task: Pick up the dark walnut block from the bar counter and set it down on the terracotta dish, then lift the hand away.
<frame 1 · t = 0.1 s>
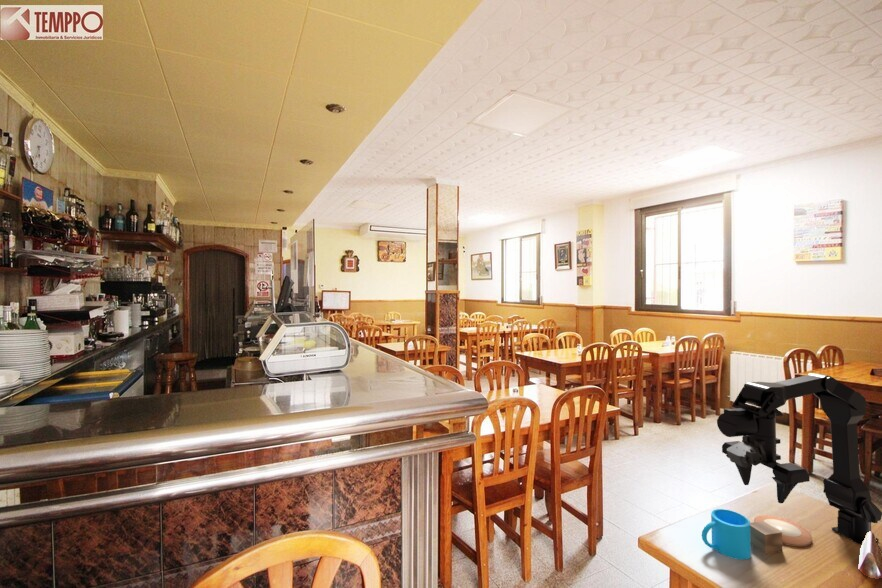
hand: (762, 493, 101), 14 cm above the table, tool pointing down, fingers open, 9 cm apart
terracotta dish: (781, 532, 108), on the table
walnut block: (764, 546, 102), on the table
mug: (724, 550, 102), on the table
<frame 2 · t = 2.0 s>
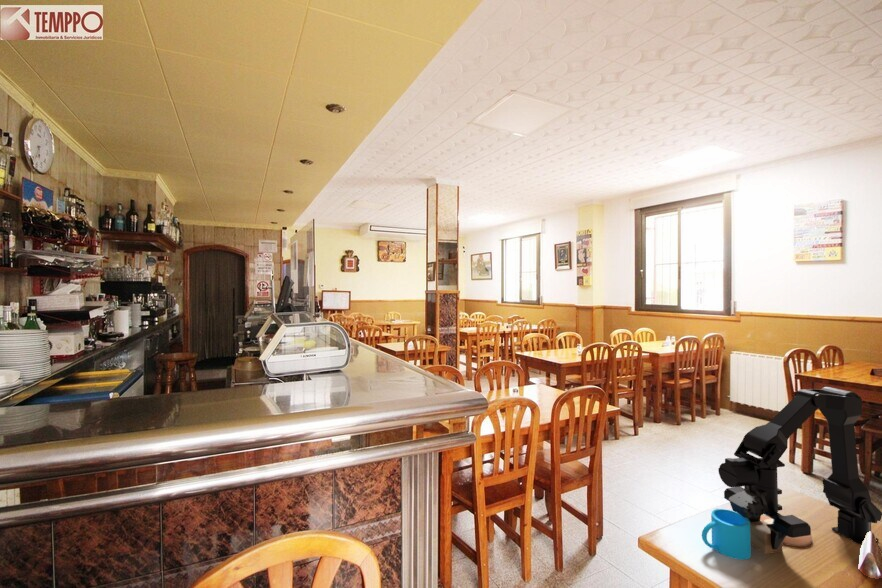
hand: (764, 542, 102), 1 cm above the table, tool pointing down, fingers closed on walnut block, 5 cm apart
walnut block: (764, 546, 102), on the table, touching gripper
everything else where it was.
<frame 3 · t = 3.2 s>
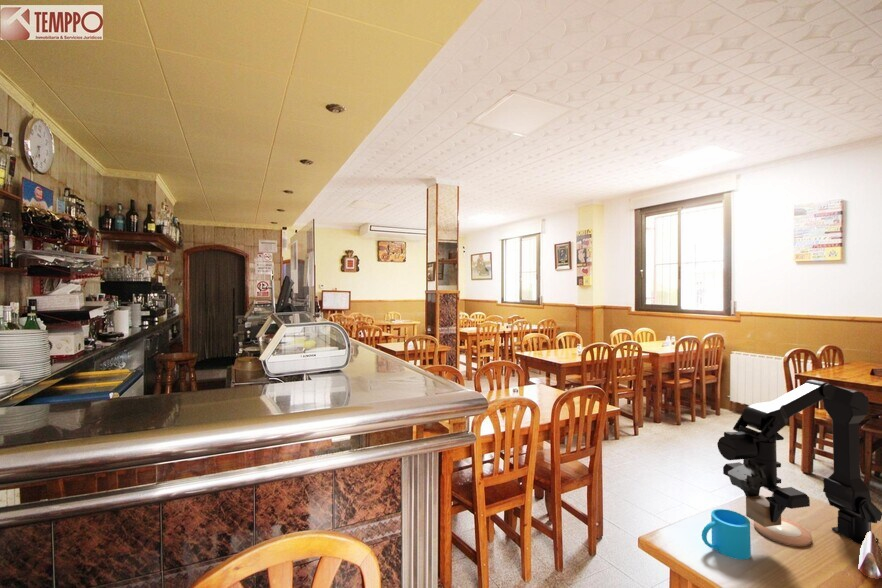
hand: (763, 516, 102), 8 cm above the table, tool pointing down, fingers closed on walnut block, 5 cm apart
walnut block: (763, 520, 102), point 7 cm above the table, touching gripper
everything else where it was.
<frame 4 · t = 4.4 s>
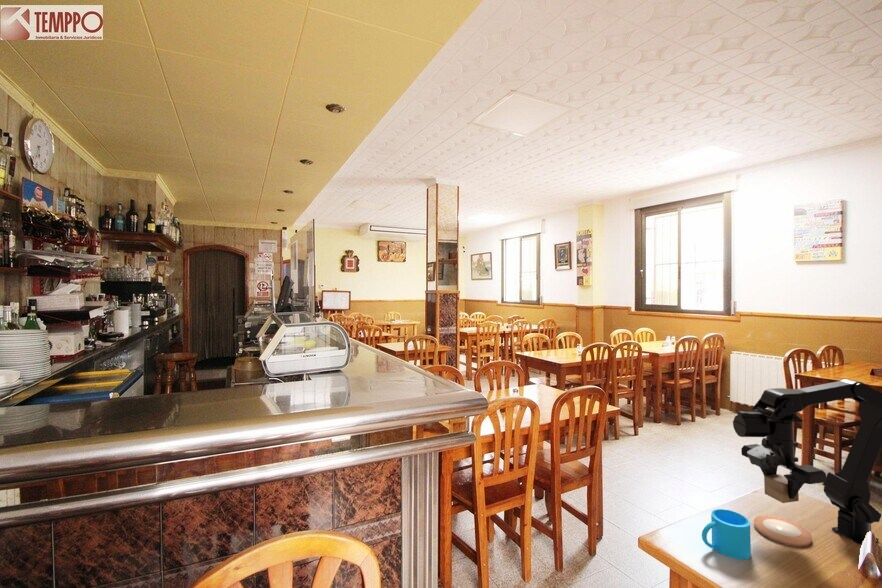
hand: (781, 493, 108), 11 cm above the table, tool pointing down, fingers closed on walnut block, 5 cm apart
walnut block: (781, 497, 108), point 10 cm above the table, touching gripper
everything else where it was.
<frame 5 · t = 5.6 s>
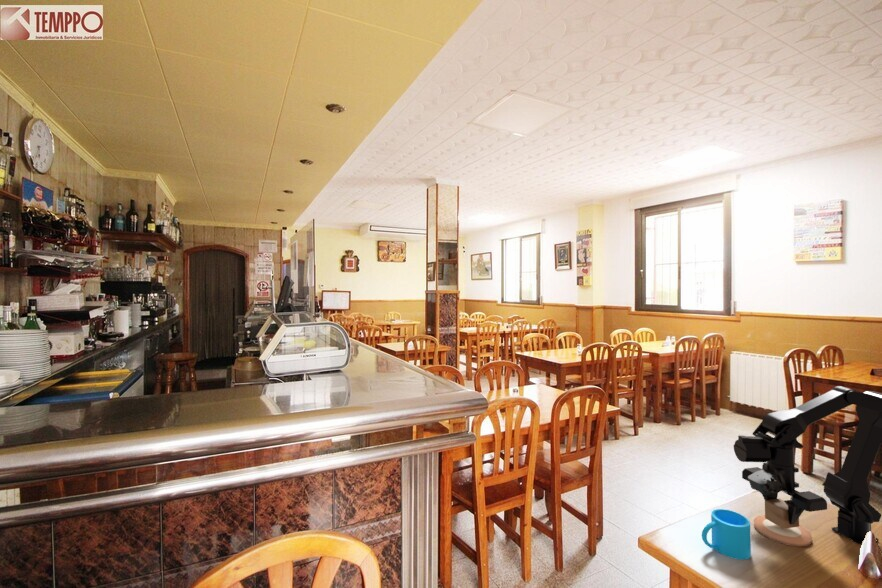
hand: (781, 518, 108), 4 cm above the table, tool pointing down, fingers closed on walnut block, 5 cm apart
walnut block: (781, 522, 108), point 3 cm above the table, touching gripper
everything else where it was.
when the fingers open (3 cm above the table, at t = 6.5 s): walnut block drops 1 cm, resting on terracotta dish.
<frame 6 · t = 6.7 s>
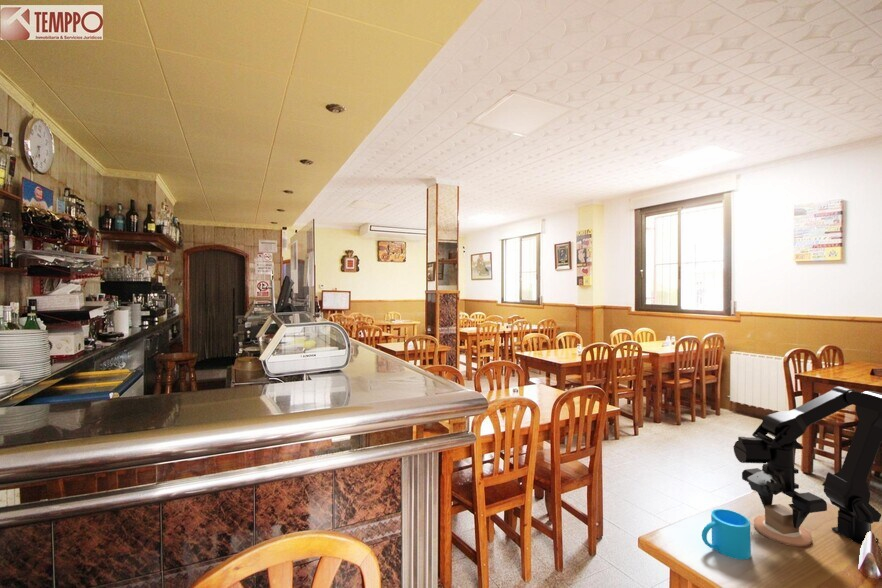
hand: (781, 519, 108), 3 cm above the table, tool pointing down, fingers open, 7 cm apart
walnut block: (781, 527, 108), point 1 cm above the table, touching terracotta dish
everything else where it was.
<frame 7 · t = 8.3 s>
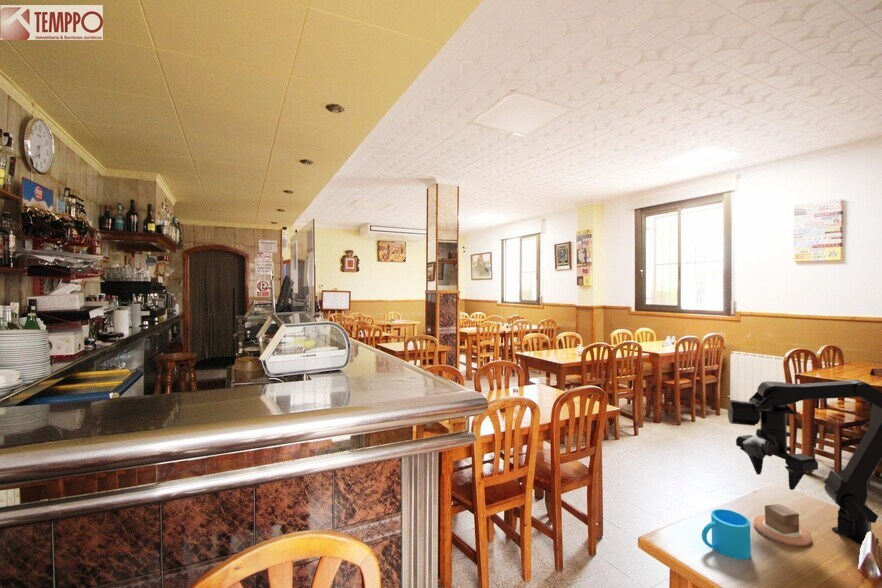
hand: (774, 481, 112), 12 cm above the table, tool pointing down, fingers open, 9 cm apart
nothing on the table moved.
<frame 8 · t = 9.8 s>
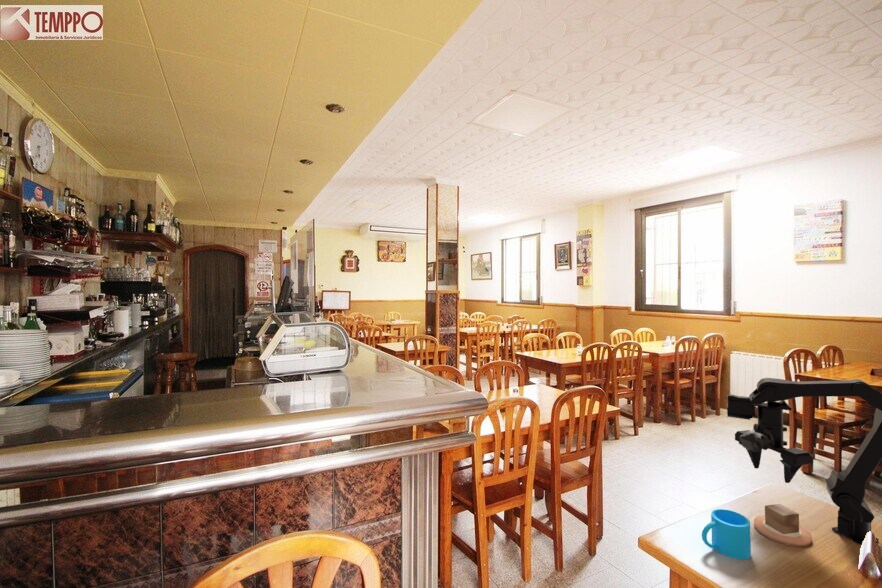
hand: (771, 475, 115), 12 cm above the table, tool pointing down, fingers open, 9 cm apart
nothing on the table moved.
at the end: walnut block inside the target area on the terracotta dish (0.0 cm from its centre), point 1.3 cm above the terracotta dish's base; walnut block touching terracotta dish; the gripper is holding nothing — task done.
